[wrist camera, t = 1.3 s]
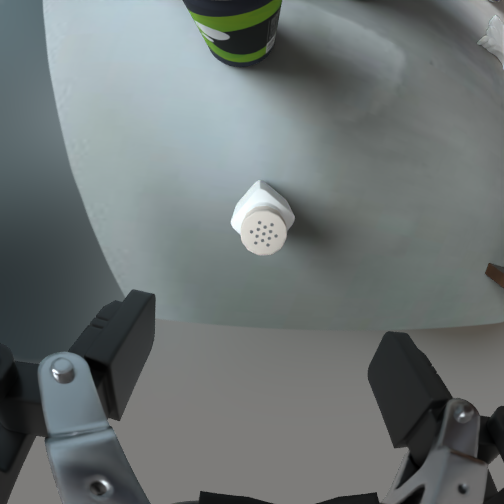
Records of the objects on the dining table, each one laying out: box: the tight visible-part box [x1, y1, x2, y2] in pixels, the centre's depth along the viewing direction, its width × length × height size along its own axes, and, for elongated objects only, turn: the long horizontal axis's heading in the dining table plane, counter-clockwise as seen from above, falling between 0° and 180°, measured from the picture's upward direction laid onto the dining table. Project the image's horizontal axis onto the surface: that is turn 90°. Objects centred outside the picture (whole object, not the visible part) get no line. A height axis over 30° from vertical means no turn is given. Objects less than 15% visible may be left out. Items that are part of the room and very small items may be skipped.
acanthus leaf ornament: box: [477, 15, 504, 70], centre depth 20 cm, size 8×7×2 cm
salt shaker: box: [231, 180, 295, 255], centre depth 25 cm, size 4×4×10 cm
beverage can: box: [183, 0, 282, 67], centre depth 17 cm, size 6×6×15 cm
